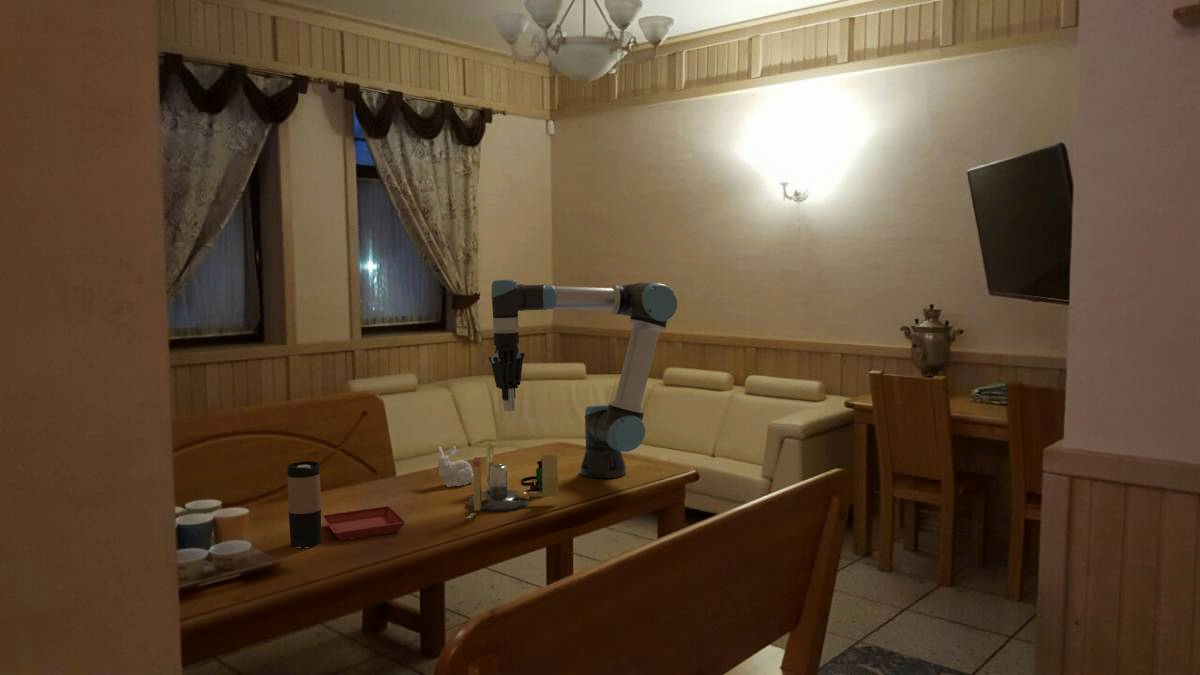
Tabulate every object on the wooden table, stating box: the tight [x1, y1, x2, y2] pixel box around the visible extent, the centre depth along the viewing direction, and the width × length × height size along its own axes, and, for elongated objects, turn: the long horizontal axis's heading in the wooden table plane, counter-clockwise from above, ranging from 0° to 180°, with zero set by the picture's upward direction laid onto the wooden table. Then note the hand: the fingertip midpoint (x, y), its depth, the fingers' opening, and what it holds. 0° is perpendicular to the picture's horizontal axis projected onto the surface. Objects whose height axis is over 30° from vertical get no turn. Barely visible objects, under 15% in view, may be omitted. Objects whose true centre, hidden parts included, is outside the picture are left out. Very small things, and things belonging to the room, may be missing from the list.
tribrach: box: [466, 443, 559, 520], centre depth 250 cm, size 27×32×14 cm
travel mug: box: [286, 460, 322, 549], centre depth 216 cm, size 8×8×20 cm
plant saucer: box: [321, 505, 406, 541], centre depth 229 cm, size 18×18×3 cm
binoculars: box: [520, 457, 542, 492], centre depth 265 cm, size 9×11×10 cm
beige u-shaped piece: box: [472, 456, 488, 511], centre depth 243 cm, size 12×4×14 cm, turn 3°
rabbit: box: [437, 445, 474, 488], centre depth 277 cm, size 12×9×12 cm
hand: (509, 410), depth 261 cm, fingers closed
